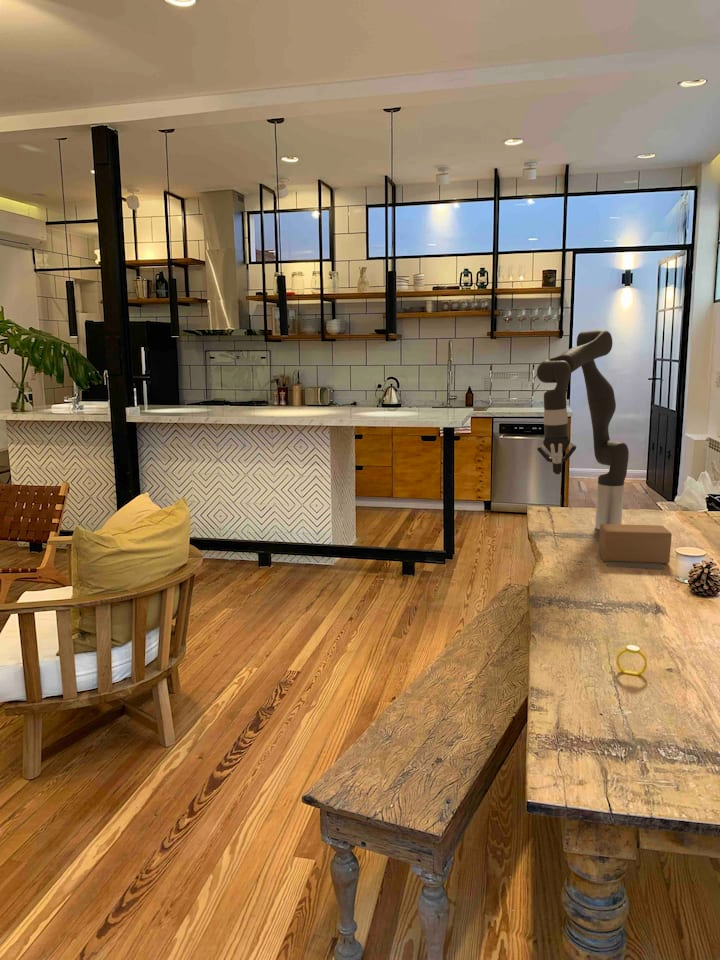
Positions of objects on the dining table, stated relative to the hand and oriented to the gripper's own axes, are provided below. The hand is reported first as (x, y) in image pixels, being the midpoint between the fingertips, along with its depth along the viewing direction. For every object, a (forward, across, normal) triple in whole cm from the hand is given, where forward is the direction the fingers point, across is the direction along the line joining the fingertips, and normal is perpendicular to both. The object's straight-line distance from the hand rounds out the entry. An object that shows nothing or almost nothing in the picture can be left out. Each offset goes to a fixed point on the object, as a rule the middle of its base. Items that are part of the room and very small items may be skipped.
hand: (557, 473), depth 239 cm
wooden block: (+22, +13, -6) cm, 26 cm away
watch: (+22, +19, -92) cm, 97 cm away
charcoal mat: (+28, +23, -7) cm, 37 cm away
